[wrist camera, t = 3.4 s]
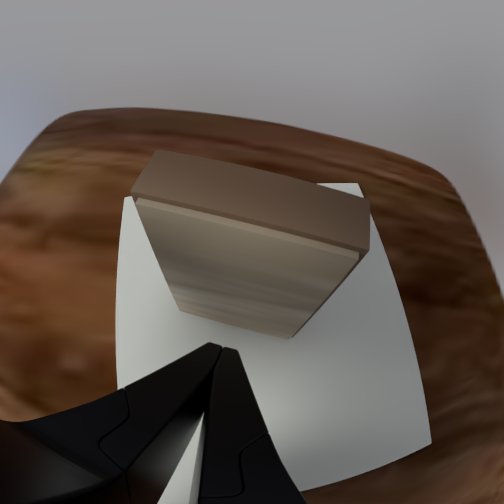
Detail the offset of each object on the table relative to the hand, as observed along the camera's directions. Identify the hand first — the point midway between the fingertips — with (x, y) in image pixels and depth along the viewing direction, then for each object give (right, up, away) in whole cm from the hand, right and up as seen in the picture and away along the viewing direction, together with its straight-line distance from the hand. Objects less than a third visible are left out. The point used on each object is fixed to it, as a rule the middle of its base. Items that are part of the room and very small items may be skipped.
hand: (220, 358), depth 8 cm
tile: (0, 0, +7) cm, 7 cm away
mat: (+2, -1, +7) cm, 8 cm away
